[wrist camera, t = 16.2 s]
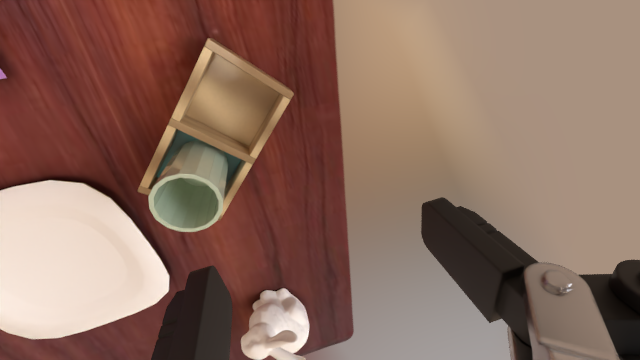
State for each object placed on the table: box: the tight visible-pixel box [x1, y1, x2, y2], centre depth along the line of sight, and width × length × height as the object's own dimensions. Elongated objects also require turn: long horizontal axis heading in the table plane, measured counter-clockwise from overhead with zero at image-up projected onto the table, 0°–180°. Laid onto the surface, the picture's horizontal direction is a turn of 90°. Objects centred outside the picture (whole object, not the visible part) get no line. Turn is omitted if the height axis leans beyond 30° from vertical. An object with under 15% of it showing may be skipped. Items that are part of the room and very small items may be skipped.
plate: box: [0, 180, 170, 339], centre depth 33 cm, size 22×22×2 cm
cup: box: [148, 140, 228, 232], centre depth 28 cm, size 6×6×9 cm
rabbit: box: [241, 288, 309, 360], centre depth 41 cm, size 12×9×12 cm
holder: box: [137, 38, 294, 220], centre depth 30 cm, size 17×9×3 cm, turn 146°
